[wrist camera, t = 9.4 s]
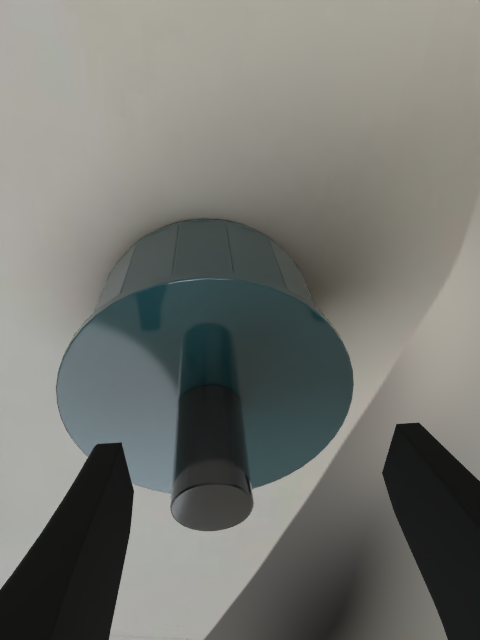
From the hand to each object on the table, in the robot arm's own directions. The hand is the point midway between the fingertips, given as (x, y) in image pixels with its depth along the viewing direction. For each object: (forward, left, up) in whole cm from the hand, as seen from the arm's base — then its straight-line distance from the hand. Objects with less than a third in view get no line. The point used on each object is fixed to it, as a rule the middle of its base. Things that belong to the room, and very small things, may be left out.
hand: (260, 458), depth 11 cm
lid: (+1, +2, -4) cm, 5 cm away
